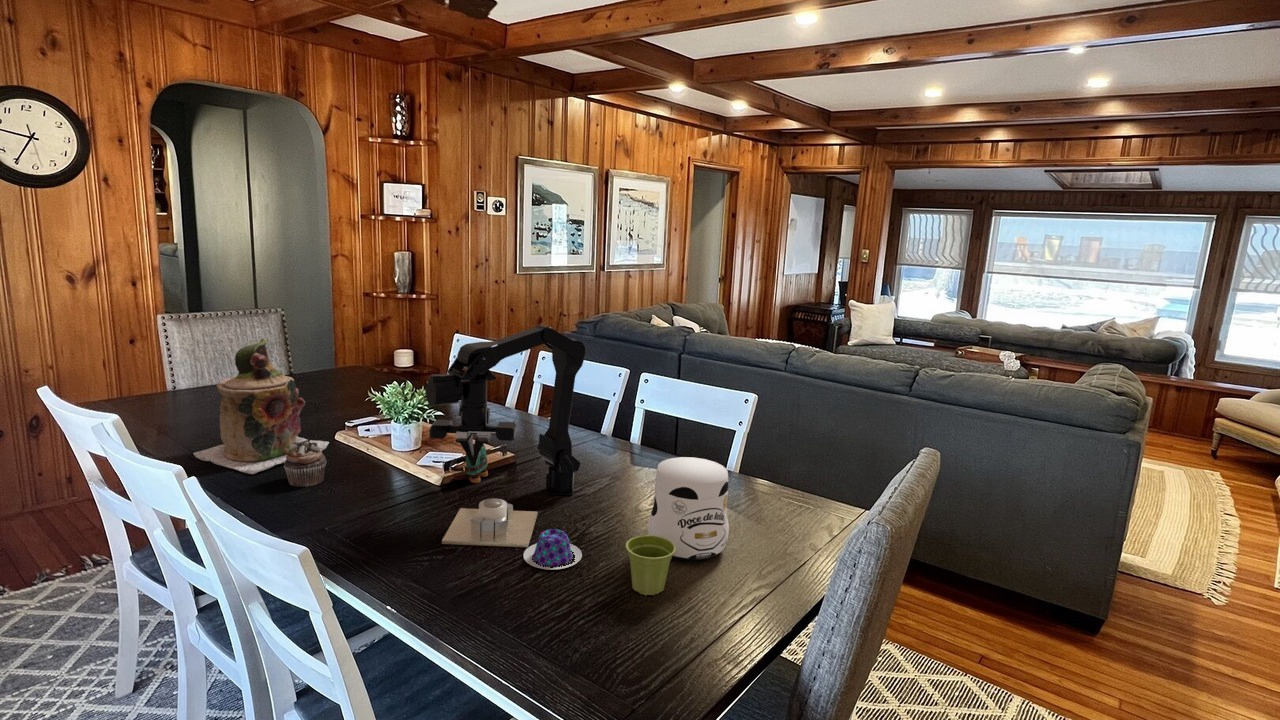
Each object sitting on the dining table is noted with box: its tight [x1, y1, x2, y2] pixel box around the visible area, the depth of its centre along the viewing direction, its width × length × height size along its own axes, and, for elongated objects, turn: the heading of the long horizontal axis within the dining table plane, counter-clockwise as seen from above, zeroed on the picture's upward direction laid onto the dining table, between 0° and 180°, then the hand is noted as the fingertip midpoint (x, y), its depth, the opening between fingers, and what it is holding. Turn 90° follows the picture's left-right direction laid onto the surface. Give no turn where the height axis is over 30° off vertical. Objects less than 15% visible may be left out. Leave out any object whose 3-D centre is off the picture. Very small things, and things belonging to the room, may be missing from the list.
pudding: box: [523, 528, 583, 571], centre depth 137 cm, size 12×12×5 cm
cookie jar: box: [193, 337, 330, 475], centre depth 181 cm, size 25×25×32 cm
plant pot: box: [625, 534, 676, 596], centre depth 127 cm, size 9×9×9 cm
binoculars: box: [449, 438, 489, 484], centre depth 175 cm, size 9×11×10 cm
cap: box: [478, 497, 508, 519], centre depth 148 cm, size 6×6×6 cm
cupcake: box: [283, 439, 328, 488], centre depth 167 cm, size 10×10×10 cm
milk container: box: [647, 456, 730, 561], centre depth 143 cm, size 17×17×18 cm
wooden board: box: [441, 502, 539, 548], centre depth 148 cm, size 18×16×4 cm
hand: (473, 465), depth 154 cm, fingers closed
